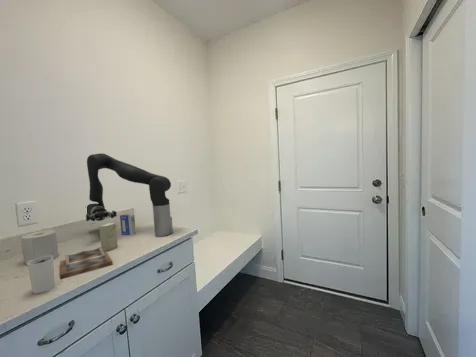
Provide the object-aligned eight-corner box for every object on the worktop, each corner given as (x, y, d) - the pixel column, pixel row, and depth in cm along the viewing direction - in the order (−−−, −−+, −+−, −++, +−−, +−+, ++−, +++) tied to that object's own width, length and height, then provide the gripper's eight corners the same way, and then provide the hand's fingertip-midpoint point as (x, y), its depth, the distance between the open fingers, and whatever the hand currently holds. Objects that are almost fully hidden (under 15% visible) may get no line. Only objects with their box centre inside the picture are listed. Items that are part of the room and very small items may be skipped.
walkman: (121, 235, 136) (119, 215, 136) (125, 233, 139) (123, 213, 138) (132, 235, 134) (130, 215, 133) (136, 233, 137) (134, 214, 136)
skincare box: (108, 251, 110) (106, 226, 109) (100, 251, 111) (98, 226, 110) (118, 246, 116) (116, 222, 116) (110, 246, 117) (108, 222, 117)
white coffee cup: (29, 289, 78) (26, 260, 77) (54, 281, 83) (51, 254, 82) (32, 296, 73) (28, 266, 72) (58, 287, 78) (55, 258, 77)
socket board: (105, 253, 108) (105, 244, 108) (112, 264, 95) (111, 255, 94) (60, 264, 98) (59, 255, 97) (60, 279, 84) (59, 268, 84)
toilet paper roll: (44, 253, 112) (42, 230, 111) (65, 254, 110) (62, 230, 109) (16, 264, 100) (13, 238, 100) (38, 265, 98) (35, 238, 97)
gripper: (83, 208, 129) (86, 212, 116) (112, 204, 138) (117, 208, 125) (84, 221, 130) (87, 227, 117) (113, 217, 138) (118, 222, 126)
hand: (103, 217), depth 121 cm, fingers open, 8 cm apart
